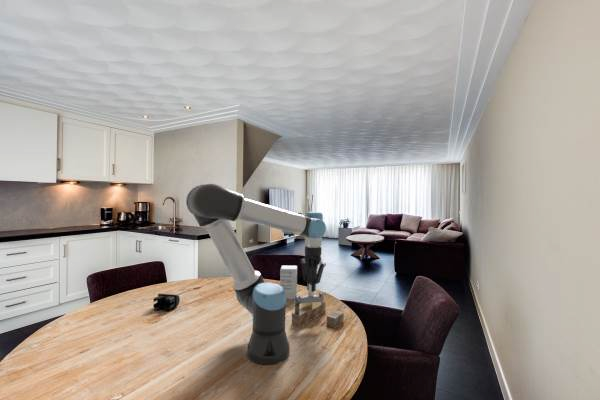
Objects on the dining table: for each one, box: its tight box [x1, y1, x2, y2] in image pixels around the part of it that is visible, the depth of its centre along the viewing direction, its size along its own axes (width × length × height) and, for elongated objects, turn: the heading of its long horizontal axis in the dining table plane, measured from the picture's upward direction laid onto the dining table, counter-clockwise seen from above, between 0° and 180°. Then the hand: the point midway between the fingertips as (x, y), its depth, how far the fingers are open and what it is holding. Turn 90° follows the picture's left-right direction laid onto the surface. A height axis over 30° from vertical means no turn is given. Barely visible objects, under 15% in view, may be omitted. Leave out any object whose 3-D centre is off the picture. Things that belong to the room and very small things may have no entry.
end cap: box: [152, 293, 181, 313], centre depth 138 cm, size 10×7×7 cm
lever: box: [293, 292, 325, 305], centre depth 124 cm, size 14×3×4 cm, turn 105°
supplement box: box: [279, 264, 298, 300], centre depth 158 cm, size 10×9×17 cm
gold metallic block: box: [300, 294, 321, 310], centre depth 131 cm, size 8×6×4 cm
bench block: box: [326, 310, 345, 328], centre depth 125 cm, size 8×4×4 cm, turn 144°
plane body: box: [291, 293, 327, 328], centre depth 130 cm, size 22×4×9 cm, turn 144°
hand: (310, 297), depth 126 cm, fingers closed
